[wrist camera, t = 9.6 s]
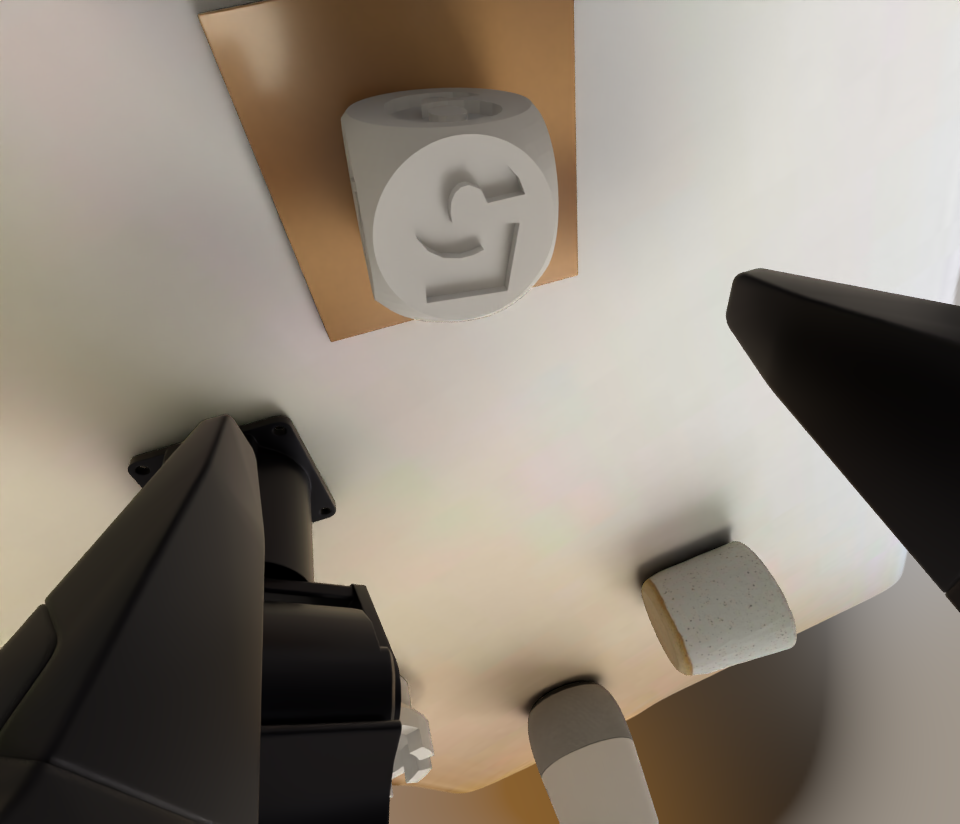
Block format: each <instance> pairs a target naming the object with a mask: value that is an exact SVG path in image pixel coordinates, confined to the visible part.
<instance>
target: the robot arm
mask: <svg viewBox="0 0 960 824" xmlns="http://www.w3.org/2000/svg"><path fill="white" fill-rule="evenodd" d="M726 320H727V324H728V326H729V328H730V329H731V331H732V332H733V334H734V335H735V337H736V338H737V340H738V341H739V343H740V344H741V346H742V347H743V349H744V350H745V352H746V353H747V355H748V356H749V358H750V359H751V361H752V362H753V364H754V365H755V367H756V368H757V370H758V371H759V373H760V374H761V376H762V377H763V379H764V380H765V381H766V383H767V384H768V386H769V387H770V388H771V389H772V391H773V392H774V393H775V394H776V396H777V397H778V398H779V399H780V401H781V402H782V403H783V404H784V405H785V406H786V408H787V409H788V410H789V411H790V412H791V413H792V415H793V416H794V417H795V418H796V419H797V421H798V422H799V423H800V424H801V425H802V426H803V428H804V429H805V430H806V431H807V432H808V434H809V435H810V436H811V437H812V438H813V439H814V441H815V442H816V443H817V444H818V445H819V446H820V448H821V449H822V450H823V451H824V452H825V454H826V455H827V456H828V457H829V458H830V459H831V461H832V462H833V463H834V464H835V465H836V467H837V468H838V469H839V470H840V471H841V472H842V474H843V475H844V476H845V477H846V478H847V480H848V481H849V482H850V483H851V484H852V485H853V487H854V488H855V489H856V490H857V491H858V492H859V494H860V495H861V496H862V497H863V498H864V500H865V501H866V502H867V503H868V504H869V505H870V507H871V508H872V509H873V510H874V511H875V513H876V514H877V515H878V516H879V517H880V518H881V520H882V521H883V522H884V523H885V524H886V525H887V527H888V528H889V529H890V530H891V531H892V533H893V534H894V535H895V536H896V537H897V538H898V540H899V541H900V542H901V543H902V544H903V546H904V547H905V548H906V549H907V550H908V551H909V553H910V554H911V555H912V556H913V557H914V559H915V560H916V561H917V562H918V563H919V564H920V566H921V567H922V568H923V569H924V570H925V571H926V573H927V574H928V575H929V576H930V577H931V578H932V580H933V581H934V582H935V583H936V584H937V585H938V587H939V588H940V589H941V590H942V591H943V592H946V594H945V595H946V597H947V598H948V599H949V600H950V602H952V604H953V605H954V606H955V607H956V609H957V610H958V611H959V612H960V306H957V305H951V304H946V303H941V302H936V301H930V300H925V299H920V298H915V297H909V296H904V295H899V294H894V293H888V292H883V291H878V290H873V289H868V288H862V287H857V286H852V285H847V284H841V283H836V282H831V281H826V280H820V279H815V278H810V277H805V276H800V275H794V274H789V273H784V272H779V271H773V270H768V269H763V268H758V269H753V270H750V271H746V272H743V273H740V274H738V275H737V276H736V277H735V279H734V280H733V283H732V288H731V292H730V297H729V302H728V306H727V311H726ZM280 426H281V427H284V429H280V430H278V429H275V428H276V427H280ZM140 466H145V467H148V468H142V467H140ZM128 472H129V474H130V475H131V476H132V477H133V478H134V479H135V480H136V481H137V483H138V484H139V485H140V486H141V487H142V489H141V490H140V492H139V493H138V494H137V495H136V496H135V497H134V498H133V500H132V501H131V502H130V503H129V504H128V505H127V506H126V508H125V509H124V510H123V511H122V512H121V513H120V514H119V516H118V517H117V518H116V519H115V520H114V521H113V522H112V524H111V525H110V526H109V527H108V528H107V529H106V530H105V532H104V533H103V534H102V535H101V536H100V537H99V538H98V540H97V541H96V542H95V543H94V544H93V545H92V546H91V548H90V549H89V550H88V551H87V552H86V553H85V554H84V556H83V557H82V558H81V559H80V560H79V561H78V562H77V563H76V565H75V566H74V567H73V568H72V569H71V570H70V571H69V573H68V574H67V575H66V576H65V577H64V578H63V579H62V581H61V582H60V583H59V584H58V585H57V586H56V587H55V589H54V590H53V591H52V592H51V593H50V594H49V595H48V597H47V598H46V599H45V604H42V605H40V606H39V607H38V608H37V609H36V610H35V611H34V612H33V614H32V615H31V616H30V617H29V618H28V619H27V620H26V622H25V623H24V624H23V625H22V626H21V627H20V628H19V630H18V631H17V632H16V633H15V634H14V635H13V636H12V637H11V638H10V640H9V641H8V642H7V643H6V644H5V645H4V646H3V647H2V648H1V649H0V824H389V802H390V790H391V782H392V774H393V766H394V760H395V756H396V752H397V748H398V744H399V740H400V736H401V731H402V724H401V721H400V720H399V719H400V712H401V681H400V674H399V669H398V665H397V662H396V659H395V657H394V654H393V652H392V649H391V647H390V644H389V642H388V639H387V637H386V635H385V632H384V630H383V627H382V625H381V622H380V620H379V617H378V615H377V613H376V610H375V608H374V605H373V603H372V600H371V598H370V595H369V593H368V591H367V588H366V586H365V585H356V584H351V585H350V586H344V585H335V584H326V583H317V582H314V569H313V542H312V522H315V521H319V520H322V519H325V518H329V517H331V516H333V515H334V514H335V512H336V505H335V501H334V499H333V497H332V495H331V494H330V492H329V490H328V488H327V486H326V484H325V482H324V481H323V479H322V477H321V475H320V473H319V471H318V469H317V468H316V466H315V464H314V462H313V460H312V458H311V456H310V455H309V453H308V451H307V449H306V447H305V445H304V443H303V442H302V440H301V438H300V436H299V434H298V432H297V430H296V429H295V427H294V425H293V423H292V421H291V420H290V419H289V418H287V417H285V416H274V417H270V418H267V419H263V420H260V421H256V422H253V423H249V424H246V425H242V426H239V427H238V425H237V423H236V422H235V420H234V419H233V418H232V417H231V416H230V415H227V414H224V415H220V416H216V417H213V418H209V419H205V420H203V421H201V422H200V423H199V424H198V425H197V427H196V428H195V429H194V430H193V431H192V432H191V433H190V435H189V436H188V437H187V438H186V439H185V440H184V441H183V442H181V443H177V444H174V445H170V446H168V447H165V448H161V449H158V450H154V451H151V452H147V453H144V454H140V455H137V456H135V457H133V458H132V459H131V460H130V464H129V467H128ZM323 508H324V509H323Z"/></svg>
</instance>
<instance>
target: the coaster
mask: <svg viewBox="0 0 960 824" xmlns="http://www.w3.org/2000/svg"><path fill="white" fill-rule="evenodd" d="M198 18H199V21H200V23H201V26H202V28H203V30H204V33H205V35H206V38H207V40H208V43H209V45H210V48H211V50H212V52H213V55H214V57H215V60H216V62H217V65H218V67H219V70H220V72H221V74H222V77H223V79H224V82H225V84H226V87H227V89H228V92H229V94H230V97H231V99H232V101H233V104H234V106H235V109H236V111H237V114H238V116H239V119H240V121H241V123H242V126H243V128H244V131H245V133H246V136H247V138H248V141H249V143H250V145H251V148H252V150H253V153H254V155H255V158H256V160H257V163H258V165H259V168H260V170H261V172H262V175H263V177H264V180H265V182H266V185H267V187H268V190H269V192H270V194H271V197H272V199H273V202H274V204H275V207H276V209H277V212H278V214H279V216H280V219H281V221H282V224H283V226H284V229H285V231H286V234H287V236H288V239H289V241H290V243H291V246H292V248H293V251H294V253H295V256H296V258H297V261H298V263H299V265H300V268H301V270H302V273H303V275H304V278H305V280H306V283H307V285H308V287H309V290H310V292H311V295H312V297H313V300H314V302H315V305H316V307H317V310H318V312H319V314H320V317H321V319H322V322H323V324H324V327H325V329H326V332H327V334H328V336H329V339H330V341H331V342H334V341H337V340H341V339H345V338H348V337H352V336H356V335H359V334H363V333H367V332H370V331H374V330H378V329H381V328H385V327H389V326H393V325H396V324H400V323H404V322H407V321H411V320H415V319H412V318H408V317H405V316H402V315H399V314H397V313H395V312H393V311H391V310H390V309H388V308H387V307H385V306H383V305H382V304H380V303H379V302H377V301H376V300H375V299H374V296H373V293H372V288H371V284H370V280H369V275H368V270H367V266H366V261H365V256H364V251H363V246H362V241H361V236H360V231H359V226H358V220H357V215H356V210H355V204H354V199H353V193H352V188H351V182H350V177H349V171H348V165H347V159H346V153H345V147H344V140H343V134H342V126H341V117H342V116H343V114H344V113H345V111H346V110H347V108H348V107H349V106H350V105H352V104H353V103H356V102H358V101H360V100H363V99H366V98H369V97H373V96H377V95H382V94H387V93H393V92H399V91H407V90H417V89H430V88H481V89H493V90H501V91H507V92H511V93H516V94H519V95H522V96H524V97H526V98H528V99H529V100H530V101H531V102H532V103H533V104H534V105H535V107H536V108H537V109H538V110H539V112H540V114H541V115H542V117H543V119H544V122H545V124H546V127H547V129H548V132H549V136H550V139H551V143H552V147H553V152H554V157H555V164H556V171H557V181H558V201H559V206H558V227H557V236H556V242H555V247H554V251H553V255H552V258H551V261H550V263H549V265H548V267H547V268H546V270H545V271H544V273H543V274H542V276H541V277H540V278H539V280H538V281H537V282H536V283H535V285H534V286H533V287H536V286H540V285H543V284H547V283H551V282H554V281H558V280H562V279H565V278H569V277H573V276H576V275H578V247H577V182H576V117H575V52H574V0H263V1H258V2H253V3H248V4H243V5H238V6H233V7H228V8H223V9H218V10H213V11H208V12H203V13H200V14H198Z"/></svg>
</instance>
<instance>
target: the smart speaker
mask: <svg viewBox="0 0 960 824" xmlns="http://www.w3.org/2000/svg"><path fill="white" fill-rule="evenodd" d="M528 734H529V740H530V745H531V749H532V752H533V755H534V758H535V761H536V764H537V767H538V770H539V773H540V775H541V778H542V780H543V783H544V785H545V788H546V790H547V793H548V795H549V798H550V800H551V803H552V805H553V808H554V810H555V813H556V815H557V817H558V820H559V822H560V824H659V822H658V818H657V815H656V812H655V809H654V806H653V803H652V799H651V797H650V793H649V790H648V787H647V783H646V781H645V777H644V774H643V771H642V768H641V765H640V761H639V758H638V755H637V752H636V749H635V745H634V742H633V739H632V737H631V734H630V731H629V728H628V726H627V723H626V721H625V718H624V716H623V714H622V712H621V709H620V708H619V706H618V704H617V702H616V701H615V699H614V698H613V696H612V695H611V694H610V693H609V692H608V691H607V690H606V689H605V688H604V687H603V686H601V685H599V684H597V683H593V682H575V683H571V684H567V685H564V686H562V687H559V688H557V689H555V690H553V691H551V692H549V693H547V694H546V695H544V696H543V697H542V698H540V699H539V700H538V701H537V702H536V704H535V705H534V706H533V708H532V710H531V712H530V714H529V718H528Z"/></svg>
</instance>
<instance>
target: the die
mask: <svg viewBox="0 0 960 824" xmlns="http://www.w3.org/2000/svg"><path fill="white" fill-rule="evenodd" d="M341 126H342V134H343V140H344V147H345V153H346V159H347V165H348V171H349V177H350V182H351V188H352V193H353V199H354V204H355V210H356V215H357V220H358V226H359V231H360V236H361V241H362V246H363V251H364V256H365V261H366V266H367V270H368V275H369V280H370V284H371V288H372V293H373V296H374V299H375V300H376V301H377V302H379V303H380V304H382V305H383V306H385V307H387V308H388V309H390V310H391V311H393V312H395V313H397V314H399V315H402V316H405V317H408V318H412V319H416V320H421V321H428V322H461V321H469V320H474V319H479V318H483V317H487V316H490V315H493V314H495V313H498V312H500V311H502V310H504V309H506V308H508V307H509V306H511V305H512V304H514V303H515V302H516V301H518V300H519V299H520V298H521V297H523V296H524V295H525V294H526V293H527V292H528V291H529V290H530V289H531V288H532V287H533V286H534V285H535V283H536V282H537V281H538V280H539V278H540V277H541V276H542V274H543V273H544V271H545V270H546V268H547V267H548V265H549V263H550V261H551V258H552V255H553V251H554V247H555V242H556V236H557V227H558V206H559V201H558V181H557V171H556V164H555V157H554V152H553V147H552V143H551V139H550V136H549V132H548V129H547V127H546V124H545V122H544V119H543V117H542V115H541V114H540V112H539V110H538V109H537V108H536V107H535V105H534V104H533V103H532V102H531V101H530V100H529V99H528V98H526V97H524V96H522V95H519V94H516V93H511V92H507V91H501V90H493V89H481V88H430V89H417V90H407V91H399V92H393V93H387V94H382V95H377V96H373V97H369V98H366V99H363V100H360V101H358V102H356V103H353V104H352V105H350V106H349V107H348V108H347V110H346V111H345V113H344V114H343V116H342V117H341Z"/></svg>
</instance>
